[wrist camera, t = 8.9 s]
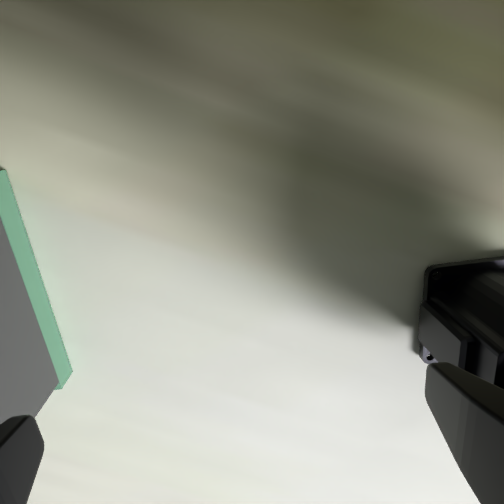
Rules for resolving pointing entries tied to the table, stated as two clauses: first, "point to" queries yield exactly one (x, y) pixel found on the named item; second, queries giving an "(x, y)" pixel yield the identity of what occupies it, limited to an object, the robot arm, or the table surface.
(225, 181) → the table surface
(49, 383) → the block
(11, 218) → the green peg board
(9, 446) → the robot arm
